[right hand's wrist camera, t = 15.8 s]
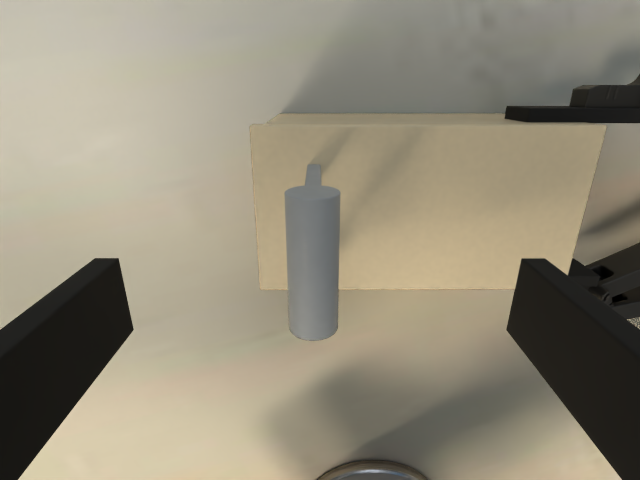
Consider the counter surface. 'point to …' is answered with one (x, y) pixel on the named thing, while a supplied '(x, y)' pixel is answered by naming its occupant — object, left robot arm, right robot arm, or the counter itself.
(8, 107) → the counter surface
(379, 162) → the lid
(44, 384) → the right robot arm
